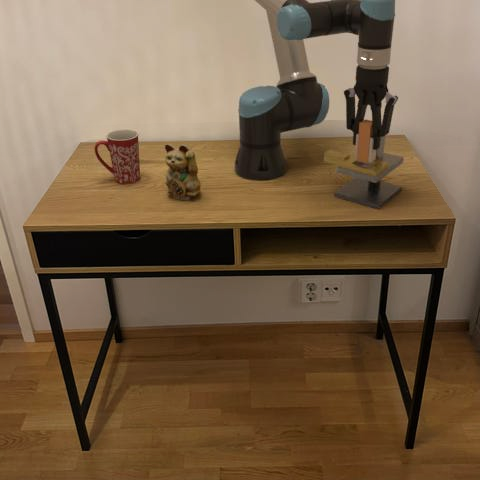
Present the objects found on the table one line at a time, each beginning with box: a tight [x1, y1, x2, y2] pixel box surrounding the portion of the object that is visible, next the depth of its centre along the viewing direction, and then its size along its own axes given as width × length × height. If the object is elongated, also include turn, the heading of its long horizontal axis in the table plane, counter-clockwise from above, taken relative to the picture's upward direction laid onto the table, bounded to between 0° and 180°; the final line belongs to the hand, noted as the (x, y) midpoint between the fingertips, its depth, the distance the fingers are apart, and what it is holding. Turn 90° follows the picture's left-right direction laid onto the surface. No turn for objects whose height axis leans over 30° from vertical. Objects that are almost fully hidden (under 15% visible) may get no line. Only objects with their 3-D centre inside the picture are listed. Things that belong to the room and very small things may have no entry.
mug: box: [94, 128, 141, 185], centre depth 166 cm, size 13×9×14 cm
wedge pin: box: [357, 119, 373, 163], centre depth 147 cm, size 3×3×10 cm
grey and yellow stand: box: [323, 135, 405, 210], centre depth 154 cm, size 18×16×17 cm
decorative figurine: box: [164, 143, 201, 201], centre depth 156 cm, size 10×8×15 cm
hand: (364, 158), depth 149 cm, fingers closed on wedge pin, 3 cm apart
